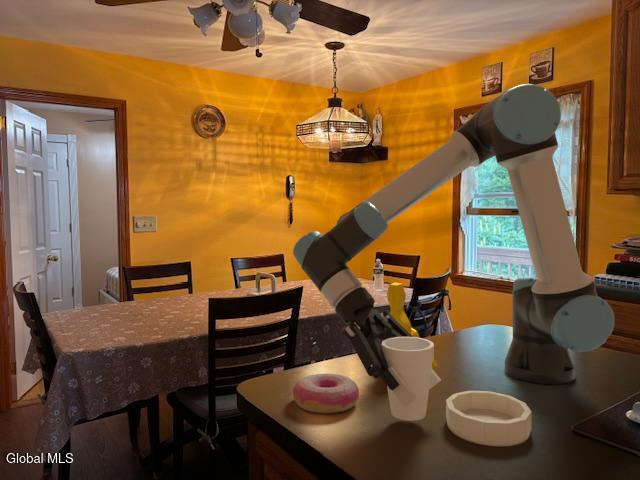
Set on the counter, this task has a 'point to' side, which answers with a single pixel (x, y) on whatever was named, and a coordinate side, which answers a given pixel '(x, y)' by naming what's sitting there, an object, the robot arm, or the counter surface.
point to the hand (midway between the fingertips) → (423, 393)
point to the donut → (326, 393)
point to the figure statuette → (401, 309)
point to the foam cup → (410, 373)
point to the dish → (488, 418)
